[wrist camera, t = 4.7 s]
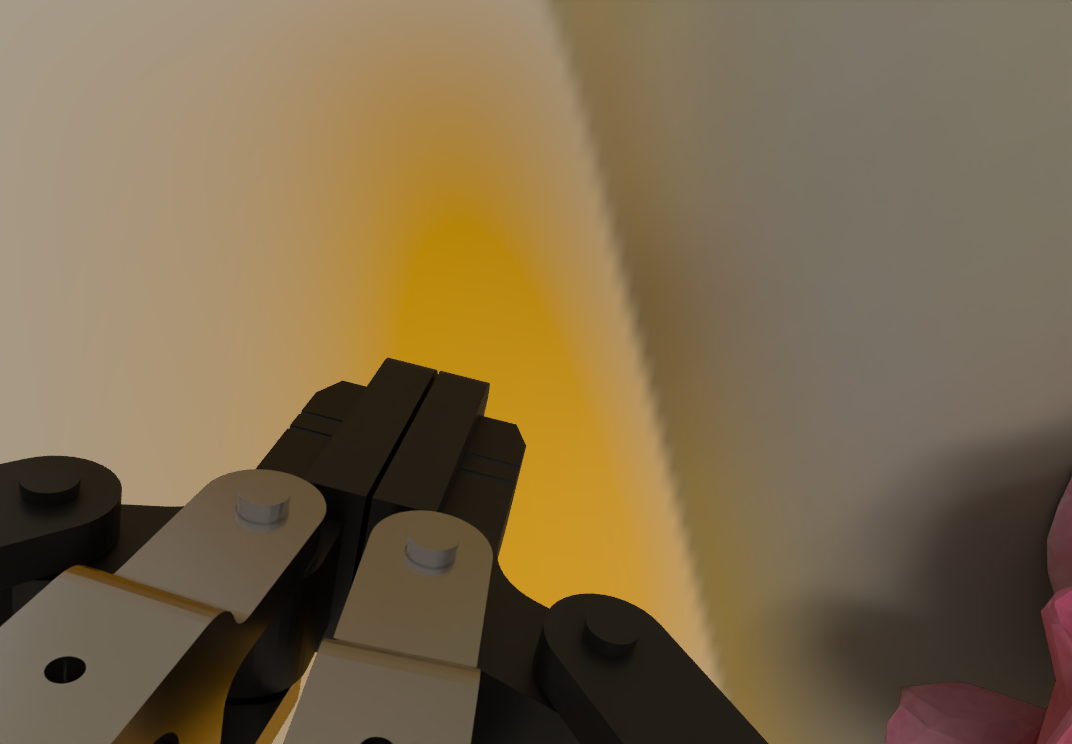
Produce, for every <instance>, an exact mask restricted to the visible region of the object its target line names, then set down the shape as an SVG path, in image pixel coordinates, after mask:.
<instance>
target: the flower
mask: <svg viewBox="0 0 1072 744" xmlns="http://www.w3.org/2000/svg"><path fill="white" fill-rule="evenodd" d="M1047 569H1048V575H1049V578H1050V581H1051V585H1052V588H1053V591H1054V596H1053V597H1052V598H1051V599H1050V601H1049V602H1048V603H1047V604H1046V605H1045V607H1044V608H1043V609H1042V610H1041V615H1042V620H1043V624H1044V629H1045V633H1046V637H1047V642H1048V646H1049V651H1050V655H1051V660H1052V664H1053V669H1054V673H1055V678H1056V682H1055V685H1054V689H1053V692H1052V695H1051V699H1050V702H1049V705H1048V708H1047V709H1044V708H1041V707H1038V706H1035V705H1032V704H1029V703H1026V702H1024V701H1021V700H1018V699H1015V698H1012V697H1009V696H1006V695H1003V694H1000V693H997V692H994V691H990V690H987V689H984V688H981V687H977V686H974V685H971V684H968V683H965V682H946V683H937V684H928V685H918V686H909V687H902V688H901V695H900V703H899V707H898V709H897V710H896V711H895V713H894V714H893V715H892V717H891V718H890V719H889V721H888V722H887V727H886V737H885V744H1072V477H1071V480H1070V482H1069V484H1068V486H1067V488H1066V490H1065V493H1064V495H1063V497H1062V499H1061V501H1060V503H1059V506H1058V508H1057V511H1056V514H1055V517H1054V520H1053V523H1052V526H1051V528H1050V531H1049V534H1048V537H1047Z"/></svg>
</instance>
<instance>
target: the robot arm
mask: <svg viewBox="0 0 1072 744" xmlns="http://www.w3.org/2000/svg"><path fill="white" fill-rule="evenodd" d="M489 387H490V383H487V382H483V381H479V380H475V379H471V378H467V377H463V376H459V375H455V374H451V373H447V372H443V371H440V372H439V374H438V373H437V370H435V369H431V368H427V367H423V366H419V365H415V364H411V363H407V362H403V361H399V360H395V359H391V358H387V359H386V360H385V361H384V362H383V364H382V365H381V367H380V368H379V370H378V371H377V373H376V374H375V375H374V377H373V378H372V380H371V381H370V383H369V384H368V386H367V387H365V386H361V385H357V384H353V383H350V382H346V381H341V382H339V383H336V384H334V385H332V386H330V387H327V388H325V389H323V390H321V391H318V392H316V393H315V395H314V396H313V397H312V398H311V400H310V401H309V402H308V403H307V405H306V406H305V407H304V408H303V410H302V413H301V414H299V415H298V416H297V417H296V419H295V420H294V421H293V422H292V424H291V425H290V429H287V430H286V431H285V432H284V434H283V435H282V436H281V438H280V439H279V440H278V441H277V443H276V444H275V445H274V446H273V448H272V449H271V450H270V451H269V453H268V454H267V455H266V456H265V458H264V459H263V460H262V462H261V463H260V464H259V465H258V467H257V468H256V469H255V470H243V471H237V472H233V473H228V474H226V475H223V476H220V477H218V478H217V479H215V480H213V481H211V482H210V483H209V484H207V485H206V486H205V487H204V488H203V489H202V490H201V491H200V492H199V493H198V494H197V495H196V496H195V497H194V498H193V499H192V500H191V501H190V502H189V503H187V504H186V505H185V506H182V507H163V506H161V507H160V506H143V505H122V504H121V493H122V487H121V483H120V481H119V479H118V478H117V476H116V475H115V474H114V473H113V472H112V471H111V470H109V469H107V468H106V467H104V466H103V465H100V464H98V463H96V462H93V461H89V460H86V459H81V458H76V457H68V456H43V457H34V458H28V459H22V460H18V461H13V462H8V463H4V464H0V744H272V742H273V740H274V739H275V737H276V735H277V734H278V732H279V730H280V728H281V727H282V725H283V724H284V722H285V720H286V719H287V717H288V715H289V714H290V712H291V711H292V709H293V707H294V706H295V703H296V701H297V699H298V695H299V690H300V683H301V677H302V676H303V674H304V673H305V671H306V669H307V667H308V665H309V663H310V661H311V659H312V657H313V655H314V653H315V652H317V655H316V657H315V660H314V663H313V665H312V668H311V671H310V673H309V676H308V679H307V681H306V684H305V687H304V689H303V692H302V695H301V697H300V700H299V703H298V705H297V708H296V711H295V713H294V716H293V719H292V721H291V724H290V727H289V730H288V732H287V735H286V737H285V740H284V743H283V744H768V743H767V742H766V740H765V739H764V738H763V737H762V736H761V735H760V734H759V733H758V732H757V730H756V729H755V728H754V727H753V726H752V725H751V724H750V723H749V722H748V721H747V719H746V718H745V717H744V716H743V715H742V714H741V713H740V712H739V711H738V710H737V708H736V707H735V706H734V705H733V704H732V703H731V702H730V701H729V700H728V699H727V697H726V696H725V695H724V694H723V693H722V692H721V691H720V690H719V689H718V688H717V686H716V685H715V684H714V683H713V682H712V681H711V680H710V679H709V678H708V677H707V675H706V674H705V673H704V672H703V671H702V670H701V669H700V668H699V667H698V666H697V664H696V663H695V662H694V661H693V660H692V659H691V658H690V657H689V656H688V655H687V653H685V651H684V650H683V649H682V648H681V647H680V646H679V645H678V643H677V642H676V641H675V640H674V639H673V638H672V637H671V636H670V635H669V634H668V632H667V631H666V630H665V629H664V628H663V627H662V626H661V625H660V624H659V623H658V622H657V621H656V620H655V619H654V618H653V617H652V616H650V615H649V614H648V613H646V612H645V611H644V610H642V609H640V608H638V607H637V606H635V605H633V604H631V603H629V602H626V601H624V600H621V599H618V598H615V597H611V596H607V595H600V594H578V595H572V596H569V597H566V598H563V599H561V600H560V601H558V602H556V603H555V604H554V605H553V606H552V607H551V608H550V609H549V608H547V607H545V606H543V605H541V604H539V603H537V602H536V601H534V600H532V599H531V598H529V597H527V596H526V595H524V594H523V593H522V592H520V591H519V590H518V589H516V588H515V587H514V586H513V585H512V584H511V583H510V582H509V580H508V579H507V578H506V577H505V575H504V574H503V572H502V570H501V568H500V566H499V563H498V555H499V551H500V548H501V544H502V541H503V537H504V533H505V529H506V525H507V521H508V517H509V513H510V509H511V505H512V500H513V496H514V493H515V489H516V485H517V481H518V476H519V472H520V468H521V464H522V460H523V456H524V452H525V448H526V445H525V442H524V440H523V438H522V436H521V434H520V432H519V429H518V427H517V425H516V424H512V423H508V422H504V421H500V420H496V419H492V418H488V417H484V412H485V407H486V403H487V399H488V393H489Z"/></svg>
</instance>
